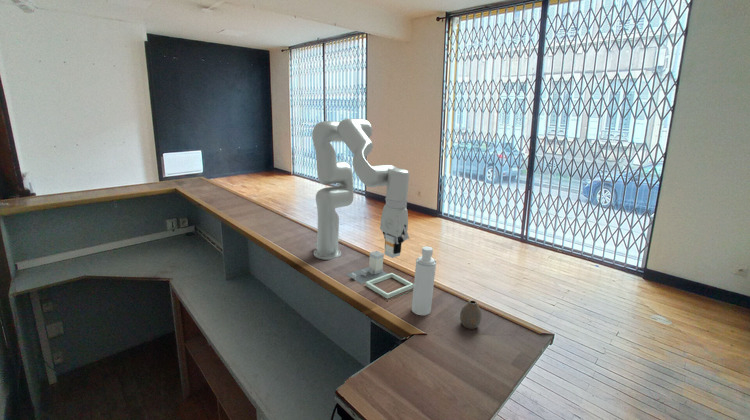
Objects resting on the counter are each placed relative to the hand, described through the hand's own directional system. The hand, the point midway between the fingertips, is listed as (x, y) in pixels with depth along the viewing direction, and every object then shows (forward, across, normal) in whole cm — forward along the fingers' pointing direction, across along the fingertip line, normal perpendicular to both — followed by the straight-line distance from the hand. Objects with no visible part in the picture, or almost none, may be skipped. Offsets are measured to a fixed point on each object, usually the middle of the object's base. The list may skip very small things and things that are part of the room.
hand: (392, 250), depth 139 cm
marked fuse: (+2, 0, 0) cm, 2 cm away
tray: (+16, 0, 0) cm, 16 cm away
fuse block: (+16, -13, 0) cm, 21 cm away
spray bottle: (+17, +17, -1) cm, 24 cm away
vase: (+17, +33, +5) cm, 37 cm away
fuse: (+15, -13, +4) cm, 20 cm away
